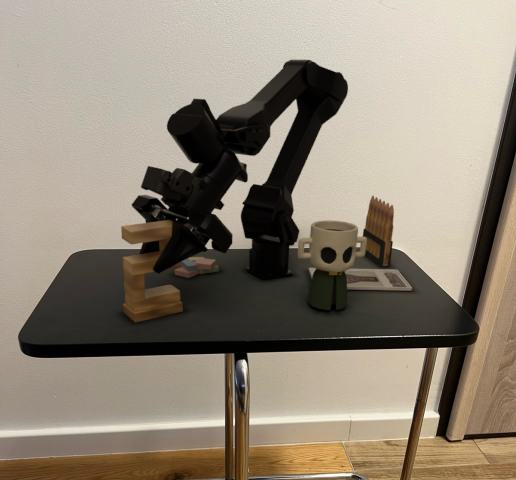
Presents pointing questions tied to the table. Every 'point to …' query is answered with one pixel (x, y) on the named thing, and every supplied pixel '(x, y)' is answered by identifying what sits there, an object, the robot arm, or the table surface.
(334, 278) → the character mug
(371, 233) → the ammunition clip
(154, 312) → the wooden numeral
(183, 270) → the letter pile
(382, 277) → the graded card
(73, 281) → the table surface
